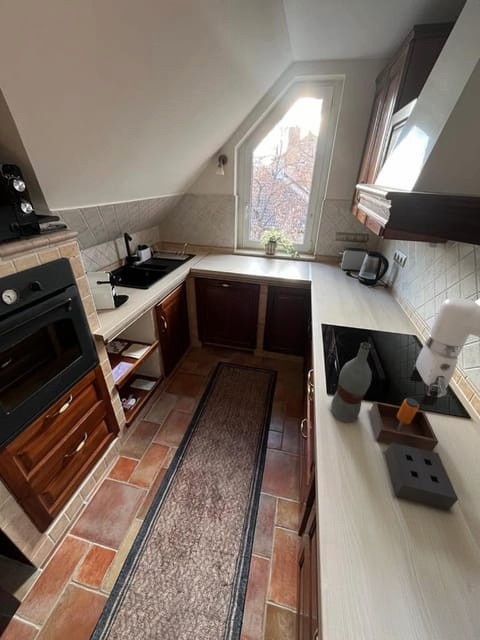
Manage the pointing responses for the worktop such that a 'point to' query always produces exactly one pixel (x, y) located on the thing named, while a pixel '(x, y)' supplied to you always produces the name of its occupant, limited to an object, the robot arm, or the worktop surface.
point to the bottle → (352, 386)
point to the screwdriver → (407, 411)
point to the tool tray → (402, 428)
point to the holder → (420, 476)
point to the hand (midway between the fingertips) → (420, 391)
